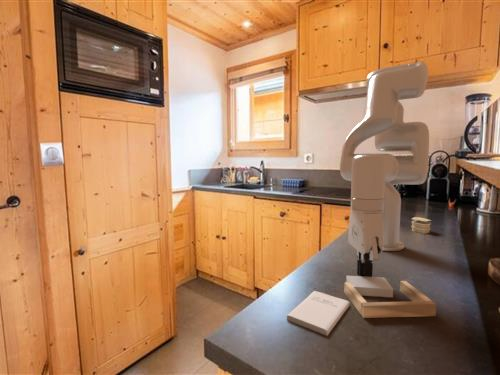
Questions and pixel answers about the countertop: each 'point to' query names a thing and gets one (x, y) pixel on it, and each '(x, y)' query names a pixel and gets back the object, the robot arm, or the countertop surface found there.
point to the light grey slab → (371, 286)
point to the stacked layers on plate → (420, 225)
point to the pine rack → (393, 303)
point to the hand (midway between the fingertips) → (364, 276)
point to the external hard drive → (319, 312)
